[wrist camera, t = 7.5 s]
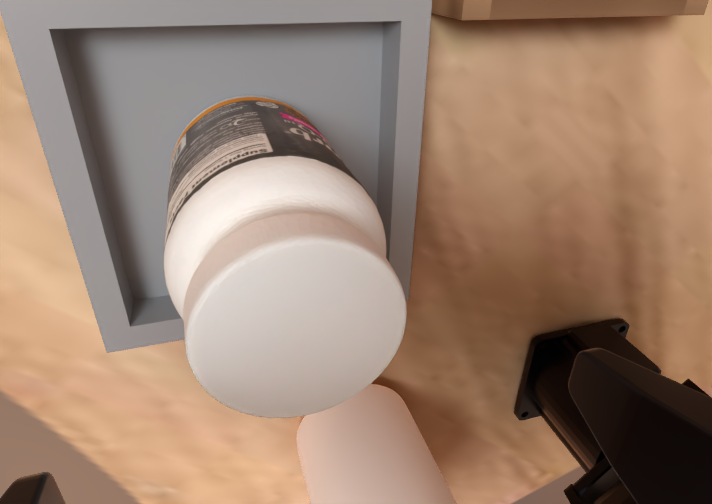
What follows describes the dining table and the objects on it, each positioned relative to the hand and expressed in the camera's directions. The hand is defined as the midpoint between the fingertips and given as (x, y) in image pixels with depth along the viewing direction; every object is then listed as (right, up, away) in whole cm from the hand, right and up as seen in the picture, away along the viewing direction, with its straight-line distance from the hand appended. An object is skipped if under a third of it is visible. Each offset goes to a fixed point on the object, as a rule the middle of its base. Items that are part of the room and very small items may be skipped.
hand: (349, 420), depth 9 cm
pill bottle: (-4, +6, +10) cm, 13 cm away
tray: (-4, +6, +11) cm, 13 cm away
